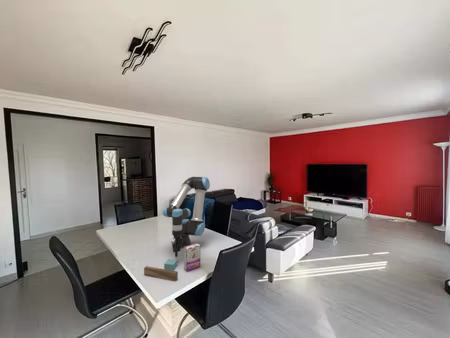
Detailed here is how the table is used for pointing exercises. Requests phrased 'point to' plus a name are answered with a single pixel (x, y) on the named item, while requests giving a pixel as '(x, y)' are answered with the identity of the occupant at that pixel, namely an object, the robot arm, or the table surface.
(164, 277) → the curved walnut bar
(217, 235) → the table surface
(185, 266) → the candy bar box
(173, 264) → the teal block
